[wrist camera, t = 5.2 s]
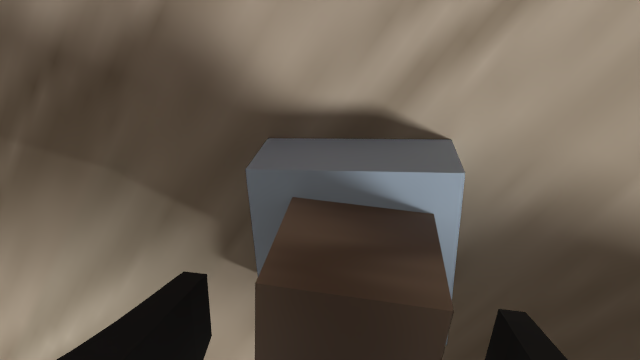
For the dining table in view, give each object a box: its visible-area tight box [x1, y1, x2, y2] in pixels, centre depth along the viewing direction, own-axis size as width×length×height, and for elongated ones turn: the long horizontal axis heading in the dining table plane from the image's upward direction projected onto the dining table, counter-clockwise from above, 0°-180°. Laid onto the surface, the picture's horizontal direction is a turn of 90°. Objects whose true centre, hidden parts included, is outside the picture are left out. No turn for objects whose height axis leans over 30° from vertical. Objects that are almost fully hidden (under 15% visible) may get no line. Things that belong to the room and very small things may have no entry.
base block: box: [245, 138, 465, 345], centre depth 15 cm, size 6×6×3 cm
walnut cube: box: [255, 197, 454, 360], centre depth 12 cm, size 4×4×4 cm
